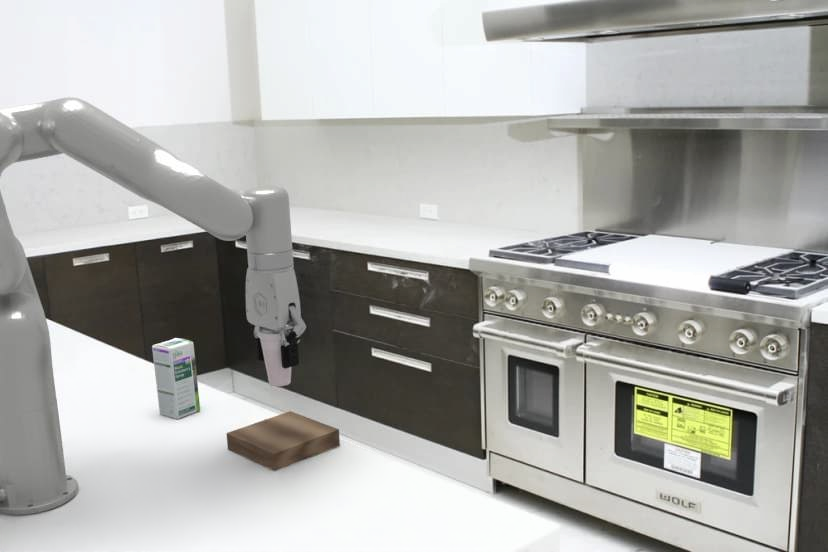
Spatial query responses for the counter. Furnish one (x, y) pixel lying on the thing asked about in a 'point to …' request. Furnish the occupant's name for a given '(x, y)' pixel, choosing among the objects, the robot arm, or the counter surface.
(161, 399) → the syrup box
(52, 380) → the robot arm
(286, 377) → the smoothie
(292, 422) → the walnut base
